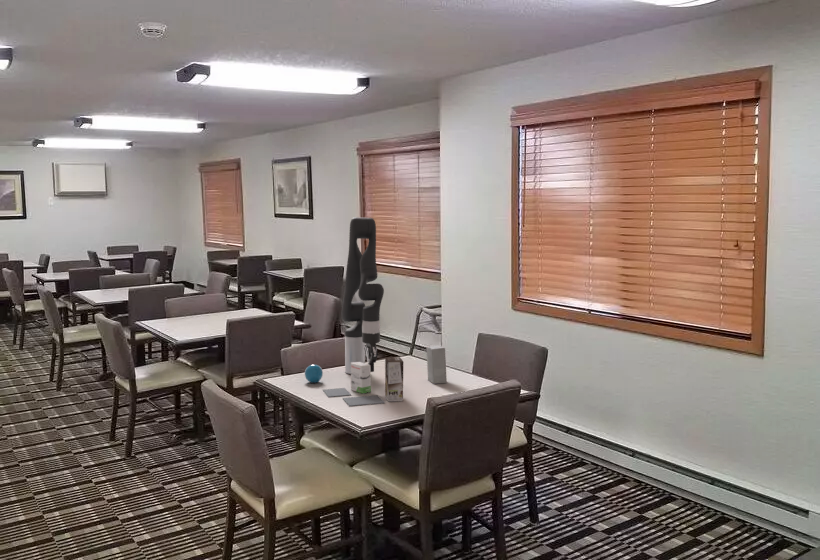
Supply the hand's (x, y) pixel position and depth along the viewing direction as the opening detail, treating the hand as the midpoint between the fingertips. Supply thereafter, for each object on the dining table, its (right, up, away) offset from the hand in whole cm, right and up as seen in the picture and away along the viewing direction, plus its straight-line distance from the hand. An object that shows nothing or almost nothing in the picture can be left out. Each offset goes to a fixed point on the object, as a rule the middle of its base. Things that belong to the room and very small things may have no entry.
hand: (371, 371), depth 290 cm
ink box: (-4, -8, -1) cm, 9 cm away
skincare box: (+28, -7, +16) cm, 33 cm away
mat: (-7, -9, -9) cm, 15 cm away
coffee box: (+10, -10, -11) cm, 18 cm away
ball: (-26, -7, +13) cm, 30 cm away
